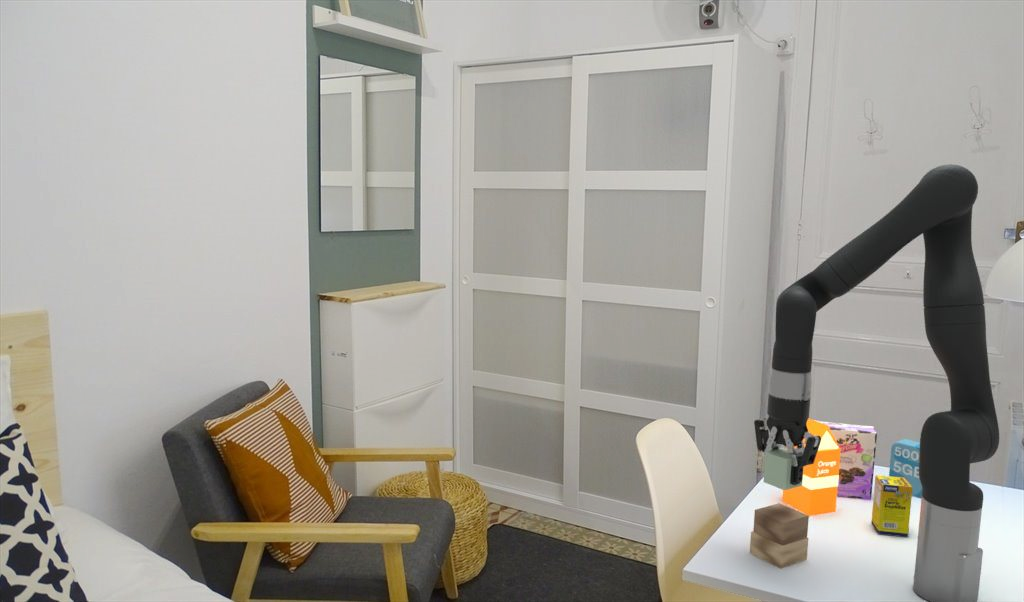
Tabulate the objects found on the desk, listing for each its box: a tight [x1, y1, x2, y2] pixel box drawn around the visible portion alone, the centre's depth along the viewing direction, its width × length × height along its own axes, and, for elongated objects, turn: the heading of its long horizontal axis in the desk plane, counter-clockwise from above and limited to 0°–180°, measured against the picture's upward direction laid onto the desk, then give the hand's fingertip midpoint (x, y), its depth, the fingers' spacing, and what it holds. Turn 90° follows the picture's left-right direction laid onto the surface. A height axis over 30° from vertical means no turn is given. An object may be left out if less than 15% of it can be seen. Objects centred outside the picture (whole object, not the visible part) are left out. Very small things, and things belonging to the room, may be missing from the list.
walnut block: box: [753, 502, 810, 546], centre depth 152 cm, size 7×7×4 cm
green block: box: [763, 447, 804, 491], centre depth 151 cm, size 5×5×6 cm
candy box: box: [813, 419, 878, 501], centre depth 186 cm, size 14×6×16 cm, turn 73°
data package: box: [888, 438, 922, 499], centre depth 187 cm, size 12×4×12 cm, turn 40°
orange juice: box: [781, 417, 841, 517], centre depth 177 cm, size 8×9×20 cm
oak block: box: [749, 531, 809, 569], centre depth 152 cm, size 8×8×4 cm
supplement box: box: [871, 474, 913, 538], centre depth 165 cm, size 6×6×11 cm
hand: (783, 478), depth 151 cm, fingers closed on green block, 5 cm apart
